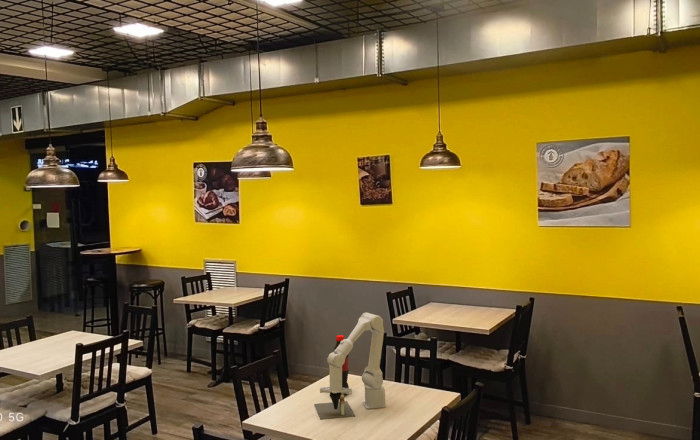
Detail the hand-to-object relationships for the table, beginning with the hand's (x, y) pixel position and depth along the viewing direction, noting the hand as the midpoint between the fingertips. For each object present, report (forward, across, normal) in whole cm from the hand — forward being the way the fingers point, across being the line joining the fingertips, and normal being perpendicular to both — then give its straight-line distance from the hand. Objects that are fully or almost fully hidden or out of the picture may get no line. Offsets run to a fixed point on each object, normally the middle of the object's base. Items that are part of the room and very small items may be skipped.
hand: (335, 408), depth 250 cm
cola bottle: (+3, -2, +26) cm, 27 cm away
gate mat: (+3, -2, +5) cm, 6 cm away
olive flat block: (+2, +3, +3) cm, 4 cm away
